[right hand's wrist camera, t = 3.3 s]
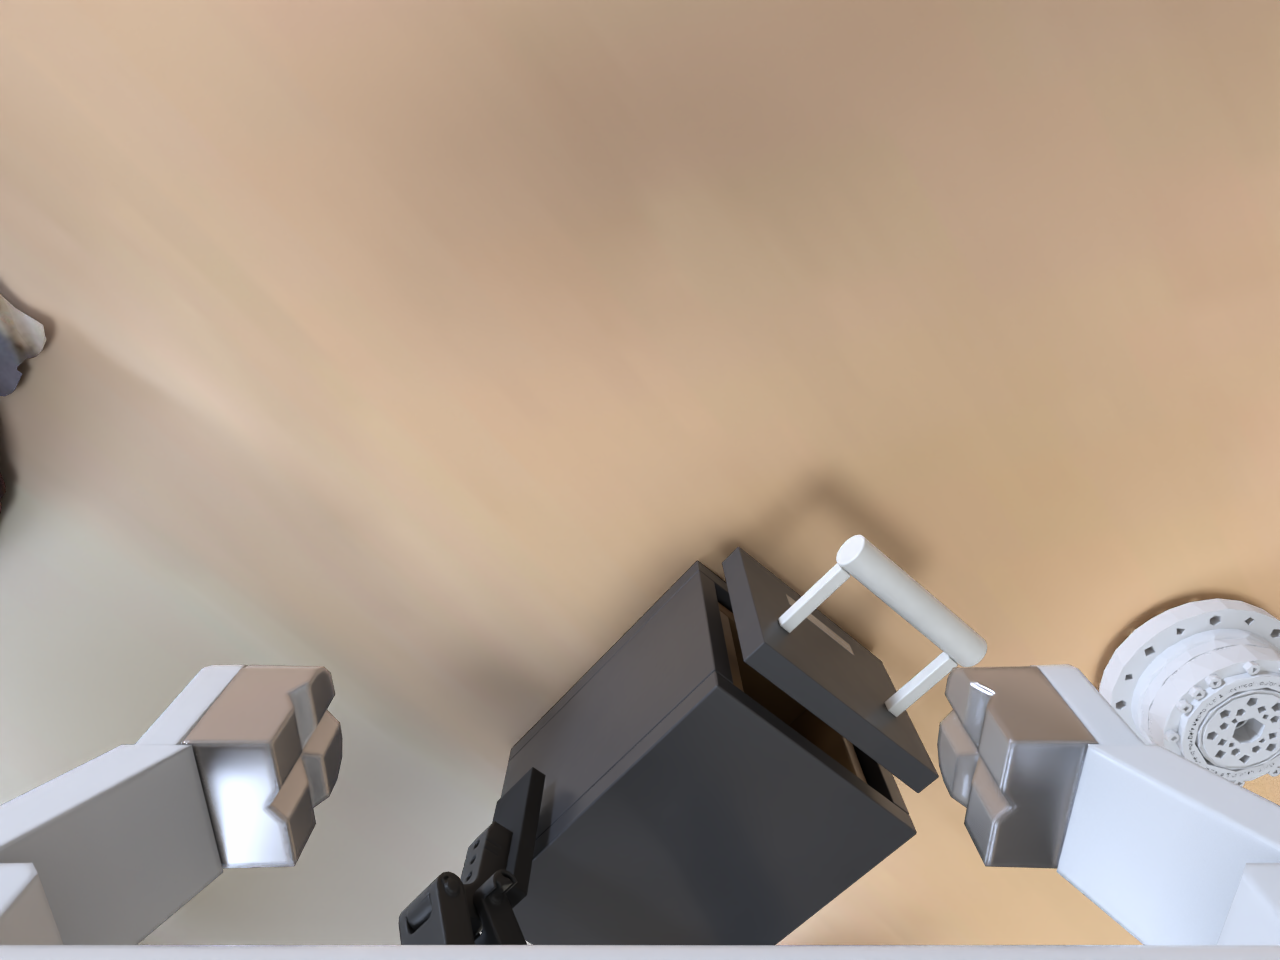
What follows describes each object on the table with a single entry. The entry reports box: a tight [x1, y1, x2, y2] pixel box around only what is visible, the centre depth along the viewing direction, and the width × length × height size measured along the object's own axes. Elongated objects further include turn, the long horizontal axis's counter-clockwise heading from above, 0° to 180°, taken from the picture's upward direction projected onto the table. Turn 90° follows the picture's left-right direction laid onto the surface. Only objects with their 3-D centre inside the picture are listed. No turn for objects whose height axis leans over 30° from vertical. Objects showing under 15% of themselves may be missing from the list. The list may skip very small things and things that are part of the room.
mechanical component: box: [1099, 598, 1280, 787], centre depth 41 cm, size 10×4×10 cm
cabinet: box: [501, 561, 916, 945], centre depth 39 cm, size 16×11×10 cm
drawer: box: [718, 535, 987, 793], centre depth 38 cm, size 19×10×8 cm, turn 139°
